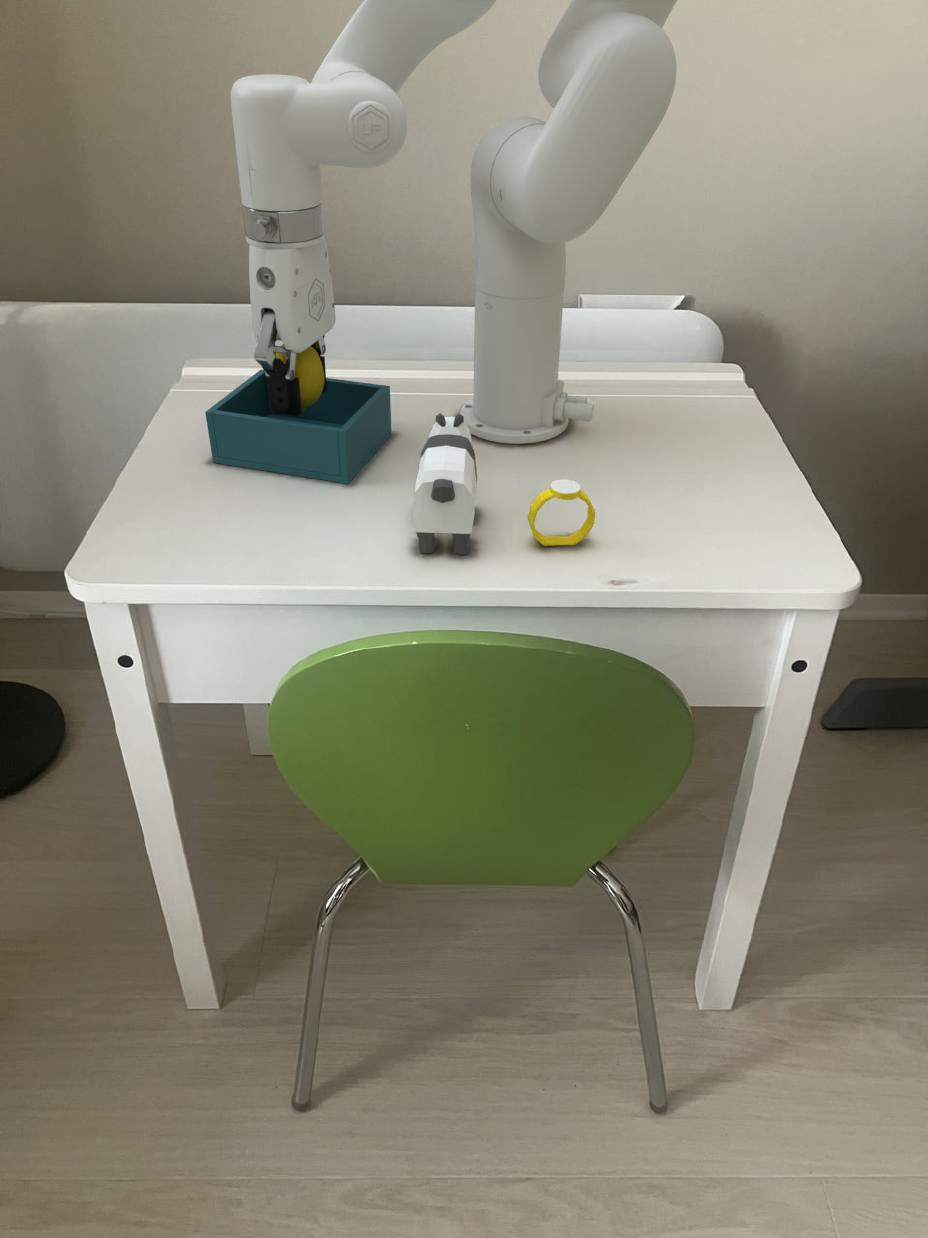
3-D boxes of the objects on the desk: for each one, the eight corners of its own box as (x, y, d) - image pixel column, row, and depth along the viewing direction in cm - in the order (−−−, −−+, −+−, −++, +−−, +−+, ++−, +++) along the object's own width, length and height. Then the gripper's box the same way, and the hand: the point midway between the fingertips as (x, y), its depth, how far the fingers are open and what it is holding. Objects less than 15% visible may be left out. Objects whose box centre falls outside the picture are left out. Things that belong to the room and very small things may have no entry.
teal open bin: (391, 434, 109) (390, 385, 106) (348, 484, 100) (344, 431, 96) (266, 416, 113) (261, 368, 110) (212, 462, 103) (204, 411, 100)
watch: (530, 552, 89) (533, 495, 85) (524, 537, 91) (527, 480, 88) (594, 548, 90) (600, 491, 86) (586, 533, 92) (592, 477, 88)
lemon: (317, 424, 101) (311, 349, 97) (266, 419, 102) (258, 345, 97) (333, 404, 106) (328, 331, 101) (285, 399, 106) (278, 327, 102)
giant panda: (473, 562, 87) (475, 466, 82) (412, 560, 88) (409, 464, 82) (478, 486, 99) (480, 398, 94) (424, 484, 100) (423, 396, 94)
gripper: (280, 249, 85) (297, 439, 96) (355, 206, 98) (363, 377, 109) (203, 241, 87) (229, 429, 97) (287, 200, 100) (302, 369, 111)
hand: (299, 400), depth 103 cm, fingers closed on lemon, 5 cm apart
